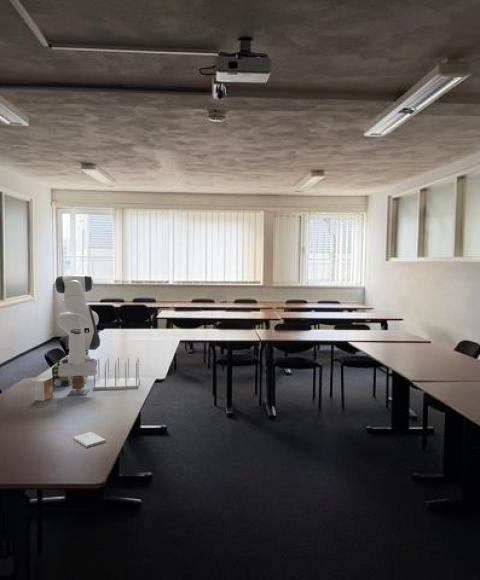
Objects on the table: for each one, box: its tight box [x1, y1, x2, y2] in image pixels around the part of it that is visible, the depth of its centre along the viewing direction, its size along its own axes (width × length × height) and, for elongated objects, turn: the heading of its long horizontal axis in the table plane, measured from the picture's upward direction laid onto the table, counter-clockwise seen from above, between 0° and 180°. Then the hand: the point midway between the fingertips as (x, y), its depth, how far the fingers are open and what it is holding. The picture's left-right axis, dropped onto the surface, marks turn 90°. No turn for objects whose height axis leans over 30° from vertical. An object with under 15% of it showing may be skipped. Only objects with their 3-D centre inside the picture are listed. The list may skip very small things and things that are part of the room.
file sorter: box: [92, 356, 141, 391], centre depth 274 cm, size 25×17×16 cm
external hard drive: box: [72, 431, 107, 448], centre depth 193 cm, size 2×8×12 cm
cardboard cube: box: [71, 376, 85, 390], centre depth 259 cm, size 5×5×7 cm
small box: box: [34, 376, 54, 402], centre depth 249 cm, size 8×6×10 cm
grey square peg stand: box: [66, 388, 91, 397], centre depth 259 cm, size 10×10×7 cm
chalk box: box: [51, 359, 73, 388], centre depth 276 cm, size 9×9×15 cm
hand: (78, 383), depth 259 cm, fingers closed on cardboard cube, 5 cm apart
